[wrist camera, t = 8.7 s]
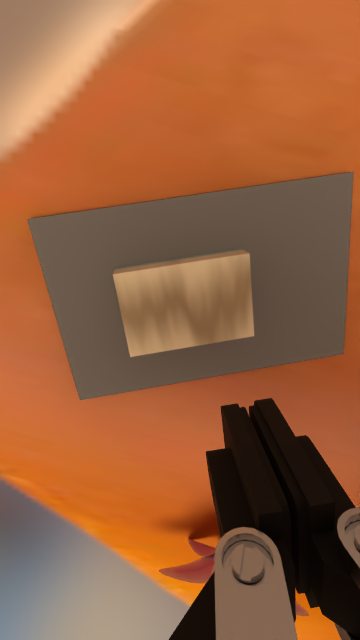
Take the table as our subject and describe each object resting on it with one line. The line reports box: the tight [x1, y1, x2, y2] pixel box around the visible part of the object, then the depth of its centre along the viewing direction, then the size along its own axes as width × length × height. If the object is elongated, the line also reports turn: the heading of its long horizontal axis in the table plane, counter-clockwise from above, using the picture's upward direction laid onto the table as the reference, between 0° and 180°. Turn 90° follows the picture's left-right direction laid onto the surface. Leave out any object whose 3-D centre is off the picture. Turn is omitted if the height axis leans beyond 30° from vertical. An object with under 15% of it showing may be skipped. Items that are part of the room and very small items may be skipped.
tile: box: [113, 249, 254, 357], centre depth 23 cm, size 6×2×9 cm
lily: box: [159, 539, 309, 616], centre depth 30 cm, size 12×12×10 cm
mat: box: [27, 172, 353, 400], centre depth 25 cm, size 14×22×1 cm, turn 98°
